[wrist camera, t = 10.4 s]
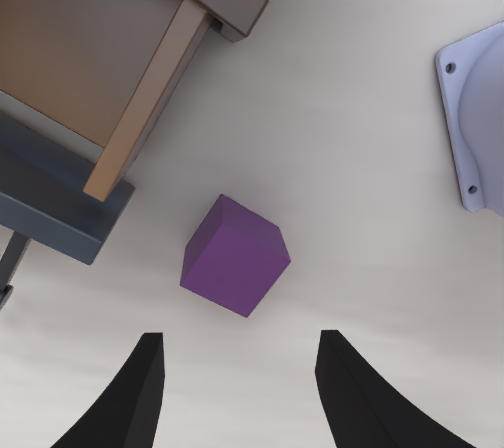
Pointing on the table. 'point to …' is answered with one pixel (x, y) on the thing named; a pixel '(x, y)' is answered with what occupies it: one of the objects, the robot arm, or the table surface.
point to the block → (234, 257)
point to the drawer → (83, 112)
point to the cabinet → (233, 16)
